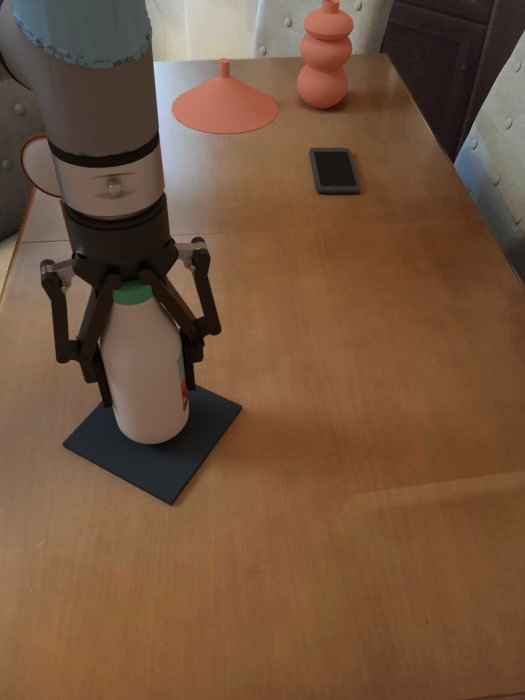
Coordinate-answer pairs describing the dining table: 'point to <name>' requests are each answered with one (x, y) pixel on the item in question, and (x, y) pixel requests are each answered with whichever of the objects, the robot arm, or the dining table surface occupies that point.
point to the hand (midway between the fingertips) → (148, 388)
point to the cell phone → (334, 170)
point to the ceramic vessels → (257, 107)
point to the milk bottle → (144, 365)
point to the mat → (156, 445)
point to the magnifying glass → (42, 170)
